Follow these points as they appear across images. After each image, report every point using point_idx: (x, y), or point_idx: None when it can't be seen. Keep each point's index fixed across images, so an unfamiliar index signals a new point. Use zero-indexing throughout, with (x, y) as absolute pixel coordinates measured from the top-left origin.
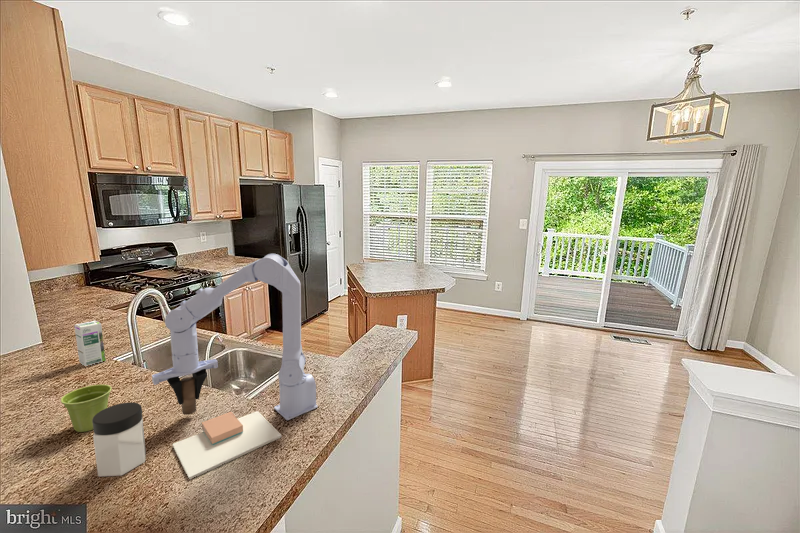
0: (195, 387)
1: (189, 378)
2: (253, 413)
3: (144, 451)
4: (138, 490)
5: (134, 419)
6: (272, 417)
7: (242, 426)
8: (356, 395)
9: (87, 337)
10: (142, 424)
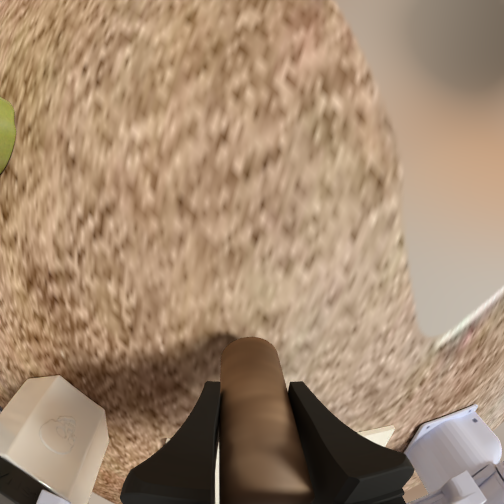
0: (303, 443)
1: (287, 498)
2: (381, 434)
3: (103, 455)
4: (110, 477)
5: None
6: (392, 448)
7: None
8: (491, 428)
9: None
10: (81, 493)
